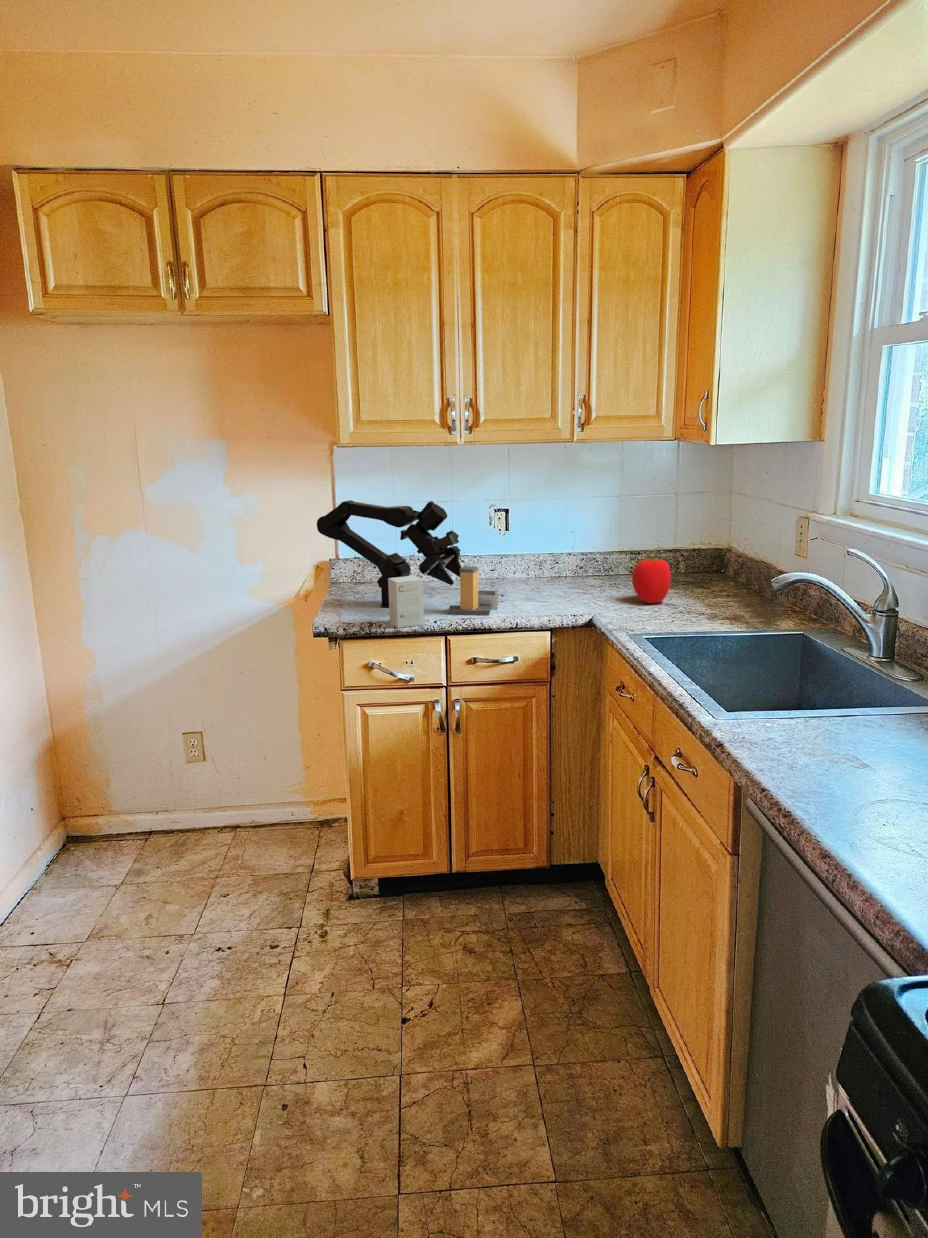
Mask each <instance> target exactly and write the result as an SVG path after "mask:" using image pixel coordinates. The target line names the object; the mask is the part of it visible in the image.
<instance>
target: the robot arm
mask: <svg viewBox="0 0 928 1238" xmlns="http://www.w3.org/2000/svg"><path fill="white" fill-rule="evenodd" d="M351 516H353V517H361V518H366V519H372V520H378V521H382V522H384V523H385V524H386V525H389V526H392V527H394V528H397V529H398V528H403V527H406V526H408V527H407V528H406V529H402V530H400V539H399V540H400V541H404V540H406V539H408V540H410V541H411V543H412V544H413V546H415V547H416V548H417V550H416V552H417V554H418V555H420V554H422V556H423V557H424V558H425V559H423V561H422V562H420V563H419V565H418V571H419V572H420V573H421V574H422V575H425V574H426V576H428V577H432V578H434V579H436V580H439V581H440V582H442V583H446V584H448V585H450V586H453V584H455V582H454V580H453V579H452V577H451V576H450V574H449V573H448V571H450V572H451V573H453V574H454V575H456V576H457V577H459V578H460V568H462V567H463V566H462V565H461V562H460V556H461V549H460V548H459V547H458V546H457V545H456V544H458V543H460V541H459V539H458V538H459V537H460V536H459V534H457V532H455V531H454V530H450V531H447V532H446V533H445V536H443V537H441V538H439V536H436V535H435V536H433V535H432V534H431V532H430V531H433V532H434V531H436V530H437V528H439V527H440V525H441V524H443V523H444V521H446V520H447V518H448V513H447V512H446V510H445V509H444V508H443V507H441V506H440V505H438V504H436V503H435V502H434V501H431V500H430V501H428V502H427V503H426V504H425V506H424V507H423V508H422V510H421V511H419V510H414V509H413V507H411V506H410V505H396V506H395V505H394V506H385V505H384V506H383V505H377V504H370V503H364V502H359V501H353V500H351V499H350V500H345V501H342V502H340V503H339V504H338V506H336V507H335V508H333V509H332V510H331V511H329V512H328V513H327V514H326V515H323V516H320V517H319V518H318V519H317V521H316V528H317V532H318V533H319V534H321V535H323V536H325V537H327V538H329V539H332V540H335V541H340V542H341V543H343V544H344V545H345V546H347V547H349V548H350V549H351V550H353V551H354V552H356V553H357V554H359V555H360V556H362V557H363V558H364V559H365V560H367V561H368V562H370V563H371V564H372V565H374V566H375V567H376V568H377V569H378V571H379V573H380V575H381V576H380V577H379V578H378V579H376V582H377V586H378V587H379V588H380V589H381V591H380V592H381V604H380V607H381V608H389V589H388V578H395V577H405V576H411V570H412V569H411V565H410V563H409V562H408V559H407V558H404V557H402V556H401V555H400V554H398V553H397V552H394V553H391V554H387V553H385V552H384V551H382V550H381V549H379V548H378V547H377V546H375V545H374V544H372V543H370V542H369V541H368V540H366V538H364V537H362V536H361V535H359V533H356V532H355V531H354V530H352V529H351V527H350V526H349V524H348V522H347V521H349V519H350V518H351ZM414 522H416V523H414ZM447 570H448V571H447Z"/></svg>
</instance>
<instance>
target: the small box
mask: <svg viewBox="0 0 928 1238" xmlns="http://www.w3.org/2000/svg"><path fill="white" fill-rule="evenodd" d="M388 589H389V607H388V608H389V611H388V613H389V624H390V625H391V626H393V627H395V628H397V629H403V628H409V627H417V626H424V625H425V610H424V609H425V608H424V605H425V604H424V580H423V578H421V577H419V576H417V575H409V576H405V577H395V578H388Z"/></svg>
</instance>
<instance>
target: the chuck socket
mask: <svg viewBox="0 0 928 1238" xmlns="http://www.w3.org/2000/svg"><path fill="white" fill-rule="evenodd" d="M499 596H500V595H499V590H490V589H489V590H484V589H483V590H481V589H480V590H479V589H478V606H491V610H497V609H498V606H499V599H500V598H499Z"/></svg>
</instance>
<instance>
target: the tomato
mask: <svg viewBox="0 0 928 1238" xmlns="http://www.w3.org/2000/svg"><path fill="white" fill-rule="evenodd" d="M671 574H672V573H671V569H670V565H669V563H668V562H667V561H666V560H664V559H662V558H659V557H657V556H654V555H653V557H651V558H645V559H642V560H640V561H638V562H637V563H636V565H635V566H634V569H633V572H632V577H631V578H632V580H631V581H632V587H633V589H634V591H635V594H636V595H637V597H638V598H639V599H640V600H641V601H642V602H644V603H646V604H658V603H661V602H662V601H664V599H665V598H666V596H667V595H668V592H669V591H670V586H671V578H672V577H671Z"/></svg>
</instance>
